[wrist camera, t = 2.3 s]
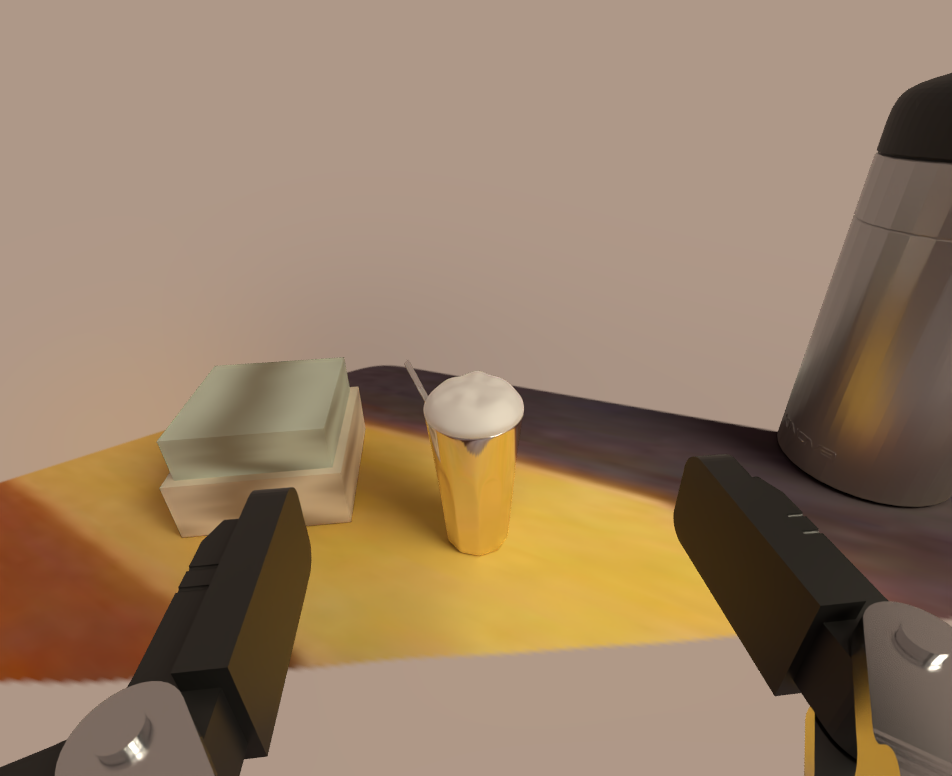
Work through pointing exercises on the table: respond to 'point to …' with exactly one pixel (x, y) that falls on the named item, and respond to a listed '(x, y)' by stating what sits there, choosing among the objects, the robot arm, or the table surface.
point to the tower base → (309, 486)
